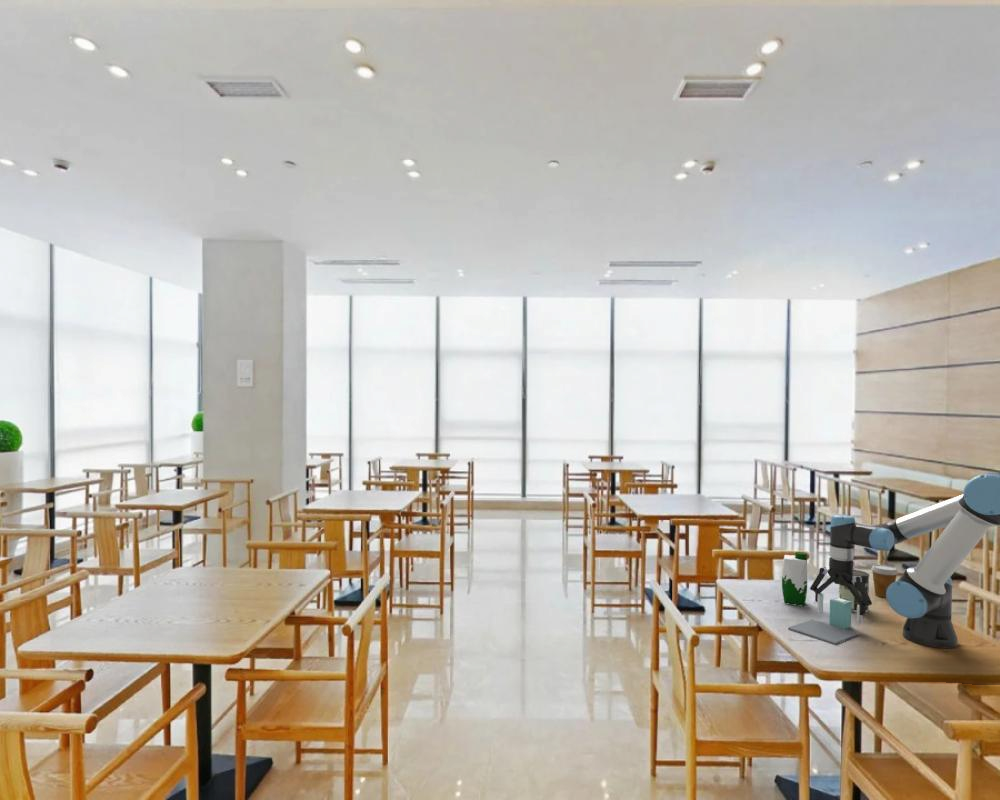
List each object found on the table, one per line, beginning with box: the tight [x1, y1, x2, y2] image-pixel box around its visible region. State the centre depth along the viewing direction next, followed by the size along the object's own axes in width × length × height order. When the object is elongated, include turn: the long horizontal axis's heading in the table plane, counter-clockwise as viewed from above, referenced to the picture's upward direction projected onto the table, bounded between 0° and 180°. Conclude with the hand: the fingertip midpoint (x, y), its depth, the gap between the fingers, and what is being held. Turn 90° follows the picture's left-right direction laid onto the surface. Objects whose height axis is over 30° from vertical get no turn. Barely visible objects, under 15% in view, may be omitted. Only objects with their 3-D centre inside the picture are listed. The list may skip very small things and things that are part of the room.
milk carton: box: [781, 551, 808, 607], centre depth 239 cm, size 9×9×20 cm
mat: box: [787, 618, 859, 645], centre depth 207 cm, size 16×16×1 cm
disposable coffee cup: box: [870, 564, 899, 599], centre depth 251 cm, size 10×10×12 cm
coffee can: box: [838, 569, 870, 613], centre depth 234 cm, size 10×10×14 cm
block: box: [828, 597, 852, 629], centre depth 214 cm, size 5×5×9 cm
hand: (839, 617), depth 214 cm, fingers open, 13 cm apart
